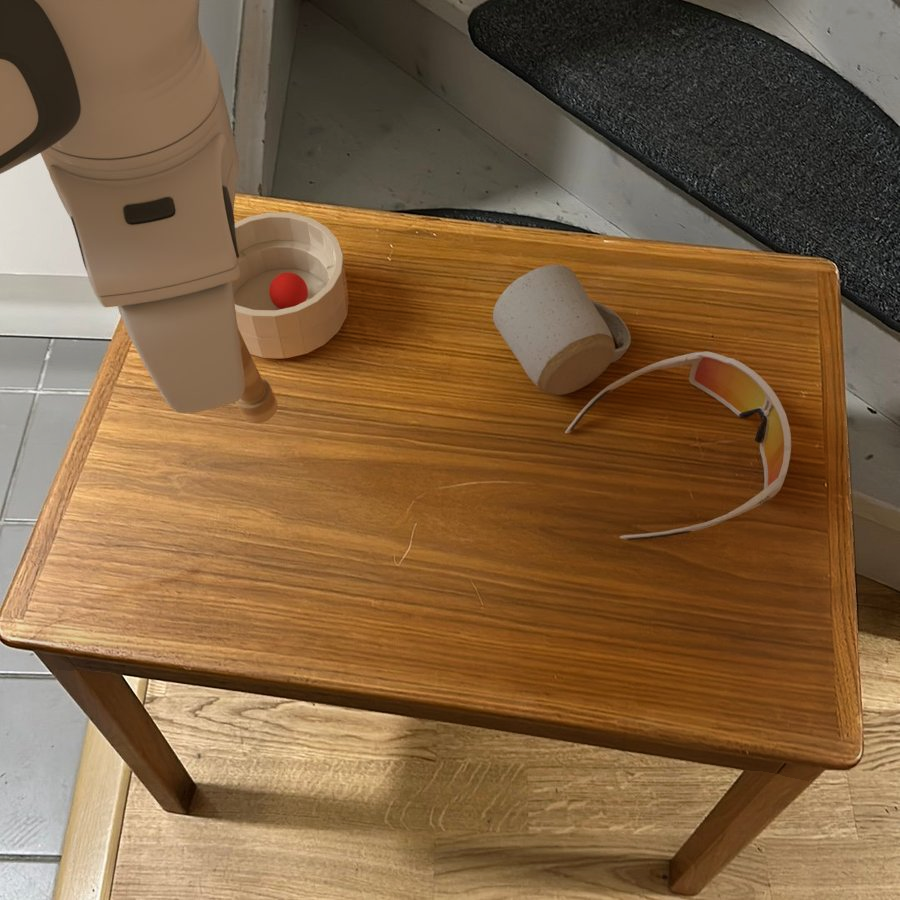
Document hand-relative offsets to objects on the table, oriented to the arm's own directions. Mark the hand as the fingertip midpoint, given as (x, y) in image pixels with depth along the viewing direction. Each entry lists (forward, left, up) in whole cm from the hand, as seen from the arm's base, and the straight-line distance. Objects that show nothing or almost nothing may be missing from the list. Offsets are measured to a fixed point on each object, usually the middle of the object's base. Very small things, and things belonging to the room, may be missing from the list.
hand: (203, 328), depth 56 cm
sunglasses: (+32, -8, -17) cm, 37 cm away
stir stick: (+2, 0, -9) cm, 10 cm away
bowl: (+5, +15, -17) cm, 23 cm away
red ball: (+6, +15, -15) cm, 22 cm away
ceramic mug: (+27, +4, -17) cm, 32 cm away
